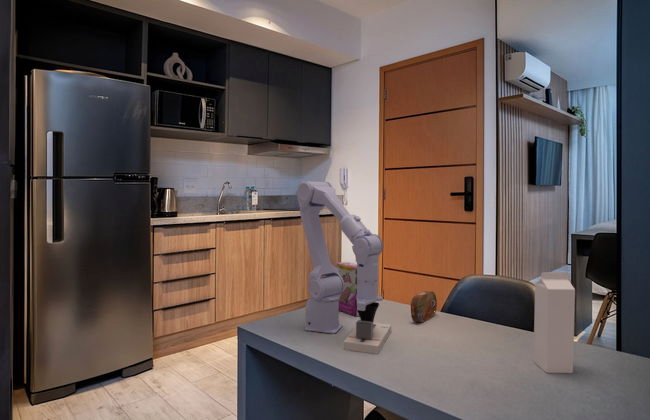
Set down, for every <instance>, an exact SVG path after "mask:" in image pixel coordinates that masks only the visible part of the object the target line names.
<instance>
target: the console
mask: <svg viewBox="0 0 650 420" xmlns="http://www.w3.org/2000/svg"><path fill="white" fill-rule="evenodd" d="M391 332H392V324H388V323H377V322H373V338H372V339H363V338H356V327H355V328H354V329H353V330H352V332H350V334H349V335H347V337H346V338H345V339H344V340H343V341H342V342H343V343H342V345H343V346H342V348H343V350H345V351H351V352H352V351H353V352H360V353H367V354H375V355H378V354H379V353H380V352H381V350H382V348H383V346H384V345H385V343H386V342H387V340H388V338H389V336H390V334H391Z"/></svg>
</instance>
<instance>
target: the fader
mask: <svg viewBox="0 0 650 420" xmlns="http://www.w3.org/2000/svg"><path fill="white" fill-rule="evenodd" d="M373 323H374V321H364V320H361V319H358V320H357V321H356V322H355V328H356V338H363V339H372V338H373Z"/></svg>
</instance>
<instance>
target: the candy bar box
mask: <svg viewBox="0 0 650 420" xmlns="http://www.w3.org/2000/svg"><path fill="white" fill-rule="evenodd" d="M335 267H336V268H337V269H338V270H339V274H340V276H341V277H342V279H343V281H344V291H343V293H342V294H340V298H339V311H340V312H342V313H344V314H348V315H351V316H353V317H356V318H358V317H359V318H360V316H359V313H358V311H357V310H356V304H357V300H356V296H357V263H353V262H348V261H341V262H336V263H335Z"/></svg>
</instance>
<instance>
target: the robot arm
mask: <svg viewBox="0 0 650 420" xmlns="http://www.w3.org/2000/svg"><path fill="white" fill-rule="evenodd" d="M296 198H297V201H298V202H297V203H298V207H299V214H300V218H301V223H302V227H303V231H304V235H305V239H306V243H307V247H308V252H309V255H310V256H309V257H310V261H311V265H312V270H311V271H310V273H309V274H308V276H307V279H308V292H309V293H308V294H310V296H311V297H308V299H307V300H306V304H305V328H304V330H305V331H308V332H309V331H310V332H319V333H325V334H336V333H337V332H339V330H341V329H342V327H343V326H344V324H343V323H339V321H340V319H339V315H340V312H339V298H340V294H342V293H343V291H344V281H343V279H342V277H341V276H340V274H339V270H338V269H337V268H336V266H334V264H332V263H331V259H330V254H329V251H328V246H327V243H326V238H325V234H324V231H323V227H322V223H321V219H320V215H319V214H320V213H321V211H322V210H324V209H325V207H326V208H327V209H328V210H329V211H330V212H331V214H332V215H333V216H334V217H335V218H336V219H337V220H338V221H339V223H340V224H339V228H340V230H341V232H343V234H344V235H345V237H346V238H347V239H348V240H349V241H350V243H351V244H352V246H351V249H352V252H353V255H354V256H355V264H357V296H356V300H357V304H356V310H357V311H358V313H359V320H364V321H373V322H374V321H375V315H376V313H377V310H378V308H379V306H380V303H379V302H382V301H383V296H379V261H380V259H379V255H381V253H382V252H383V250H384V242H383V241H382V238H381V236H380V235H379V234H376V233H375V234H374V233H372V232H371V231H370V229H368V228H367V227H366V225H365V224H364V223H363V222H362V221H361V219H362V218H361V217H360V216H357V215H355V214H350V213H349V211H348V210H347V208H346V207H345V206H344V204H343V203H342V201H341V199H340V198H339V197H338V195H337V193H336V188H335V187H333V186H332V184H331V183H330V182H329V181H309V180H302V182H300V184H299V185H298V187H297V190H296Z"/></svg>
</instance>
